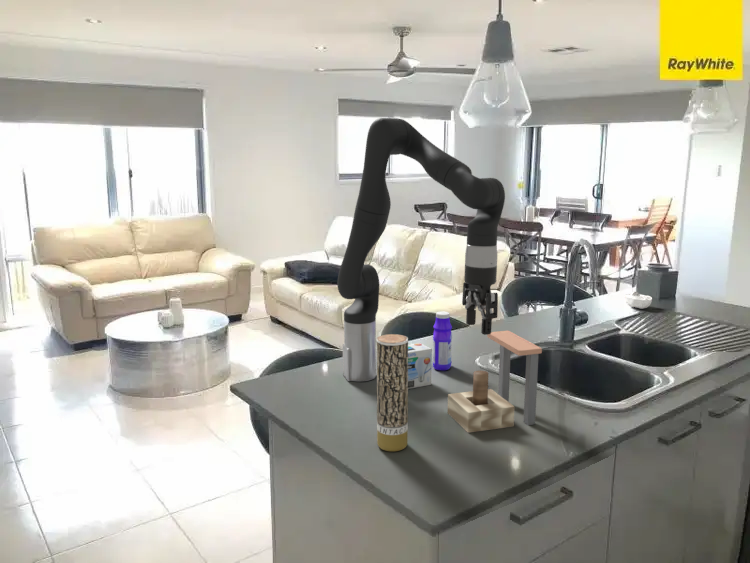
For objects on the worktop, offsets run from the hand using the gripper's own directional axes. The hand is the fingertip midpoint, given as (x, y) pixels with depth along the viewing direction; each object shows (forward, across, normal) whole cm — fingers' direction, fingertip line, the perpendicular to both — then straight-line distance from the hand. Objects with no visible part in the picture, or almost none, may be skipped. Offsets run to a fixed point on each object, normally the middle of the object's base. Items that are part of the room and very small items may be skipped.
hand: (478, 329), depth 149 cm
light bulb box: (+23, +26, +8) cm, 35 cm away
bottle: (+23, +36, -6) cm, 43 cm away
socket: (+22, -2, 0) cm, 23 cm away
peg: (+22, -2, 0) cm, 23 cm away
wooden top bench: (+22, -1, -9) cm, 24 cm away
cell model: (+23, +81, -115) cm, 142 cm away
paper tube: (+23, -10, +25) cm, 35 cm away
